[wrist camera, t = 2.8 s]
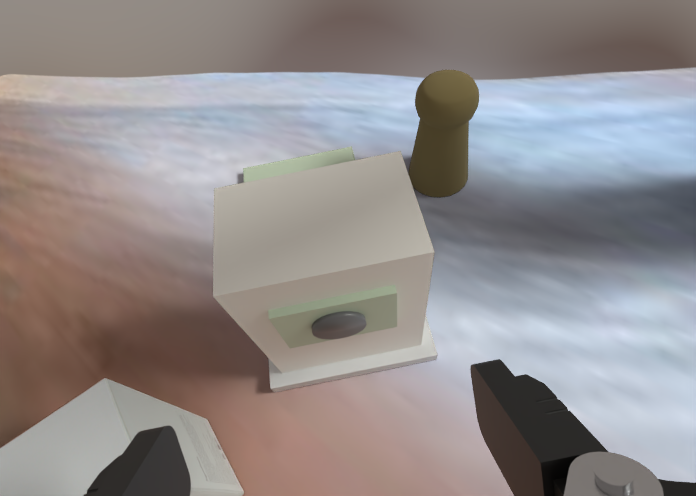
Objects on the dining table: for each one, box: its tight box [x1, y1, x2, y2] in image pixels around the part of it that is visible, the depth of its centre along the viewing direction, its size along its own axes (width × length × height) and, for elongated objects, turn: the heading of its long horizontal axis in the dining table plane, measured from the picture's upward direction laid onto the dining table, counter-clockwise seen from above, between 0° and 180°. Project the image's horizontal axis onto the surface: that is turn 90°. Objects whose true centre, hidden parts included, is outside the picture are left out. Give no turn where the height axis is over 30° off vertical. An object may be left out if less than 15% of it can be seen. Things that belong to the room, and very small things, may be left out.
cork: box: [408, 70, 479, 197], centre depth 37 cm, size 6×6×11 cm
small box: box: [0, 378, 244, 496], centre depth 24 cm, size 8×6×13 cm
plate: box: [243, 147, 355, 183], centre depth 41 cm, size 12×12×1 cm
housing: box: [213, 151, 437, 392], centre depth 28 cm, size 13×9×15 cm
